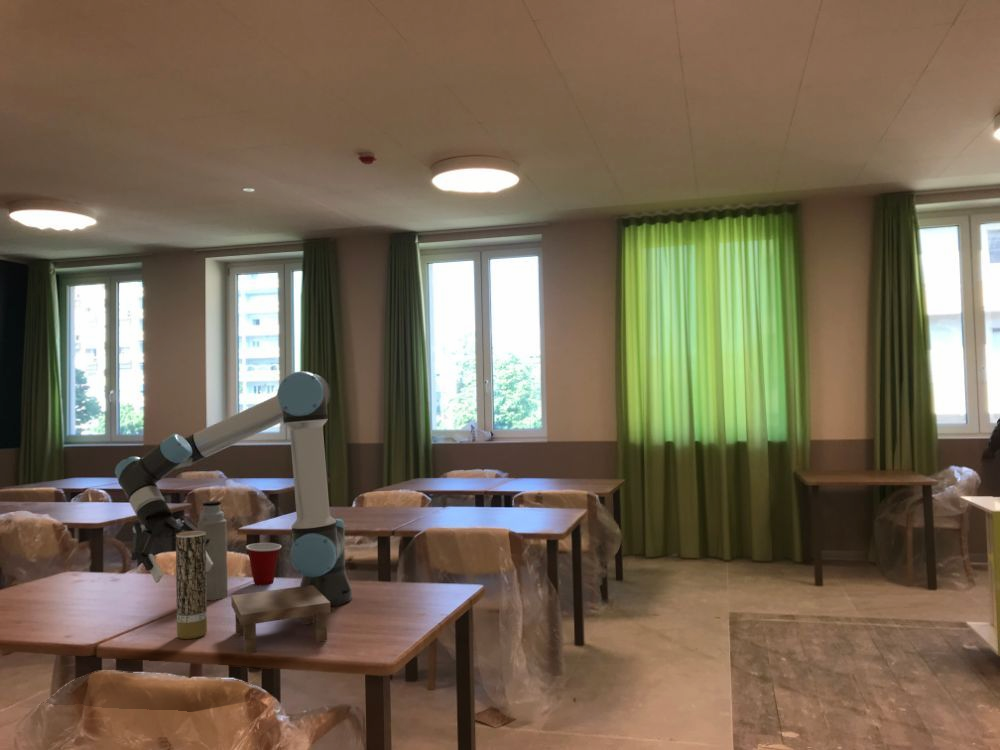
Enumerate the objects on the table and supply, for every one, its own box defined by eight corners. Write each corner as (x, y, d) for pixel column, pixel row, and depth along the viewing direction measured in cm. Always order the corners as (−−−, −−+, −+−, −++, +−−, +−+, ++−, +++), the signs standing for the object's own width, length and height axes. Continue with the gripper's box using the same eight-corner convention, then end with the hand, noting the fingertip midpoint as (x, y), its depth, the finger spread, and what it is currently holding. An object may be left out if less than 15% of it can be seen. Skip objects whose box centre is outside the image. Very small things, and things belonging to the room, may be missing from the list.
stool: (313, 620, 195) (312, 584, 196) (331, 641, 177) (330, 602, 178) (231, 632, 187) (231, 595, 187) (241, 655, 169) (241, 614, 169)
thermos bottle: (216, 592, 228) (214, 499, 229) (233, 595, 223) (231, 500, 224) (192, 598, 221) (191, 502, 222) (210, 602, 217) (208, 504, 218)
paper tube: (200, 629, 189) (198, 529, 190) (211, 635, 184) (210, 532, 185) (172, 636, 184) (171, 533, 185) (183, 642, 180) (182, 536, 181)
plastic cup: (271, 587, 232) (271, 548, 232) (239, 587, 234) (239, 548, 234) (288, 579, 242) (287, 542, 243) (257, 579, 244) (257, 541, 245)
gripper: (188, 511, 206) (223, 572, 197) (96, 525, 186) (130, 594, 177) (200, 492, 203) (235, 554, 194) (107, 504, 183) (142, 573, 174)
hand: (185, 573), depth 185 cm, fingers open, 13 cm apart
